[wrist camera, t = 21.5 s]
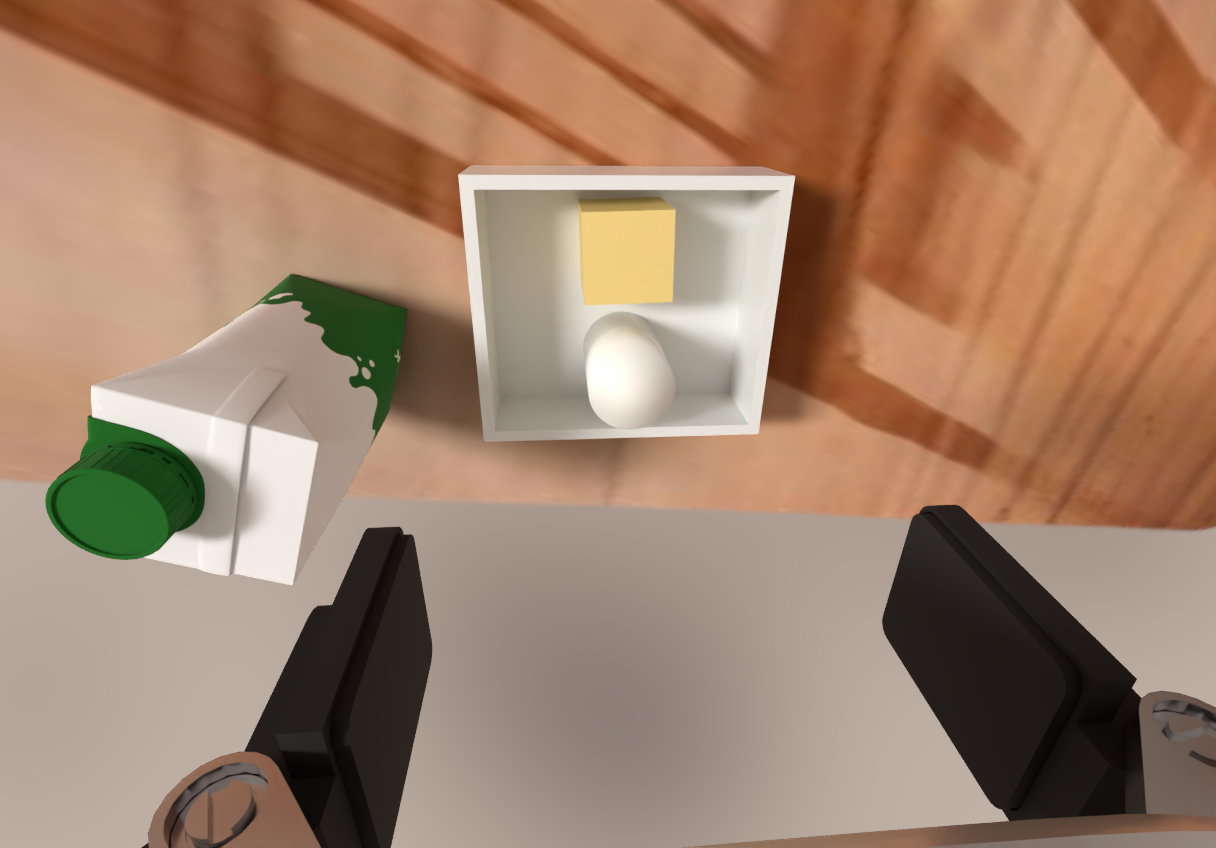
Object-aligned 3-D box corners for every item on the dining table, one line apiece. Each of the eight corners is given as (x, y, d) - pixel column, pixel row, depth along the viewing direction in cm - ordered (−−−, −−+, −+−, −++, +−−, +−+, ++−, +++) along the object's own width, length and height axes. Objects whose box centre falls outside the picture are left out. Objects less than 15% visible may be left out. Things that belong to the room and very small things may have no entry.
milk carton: (277, 254, 37) (24, 390, 19) (426, 301, 39) (322, 463, 21) (261, 380, 40) (36, 592, 23) (399, 417, 43) (290, 638, 25)
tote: (762, 166, 37) (795, 175, 32) (735, 397, 44) (758, 433, 39) (471, 165, 35) (458, 174, 31) (491, 402, 43) (484, 441, 38)
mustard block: (660, 197, 37) (675, 209, 32) (659, 279, 39) (672, 301, 34) (577, 199, 36) (581, 212, 32) (580, 282, 39) (584, 305, 34)
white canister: (659, 311, 40) (678, 349, 34) (655, 381, 42) (672, 428, 36) (582, 311, 39) (588, 350, 33) (583, 382, 42) (588, 430, 36)
